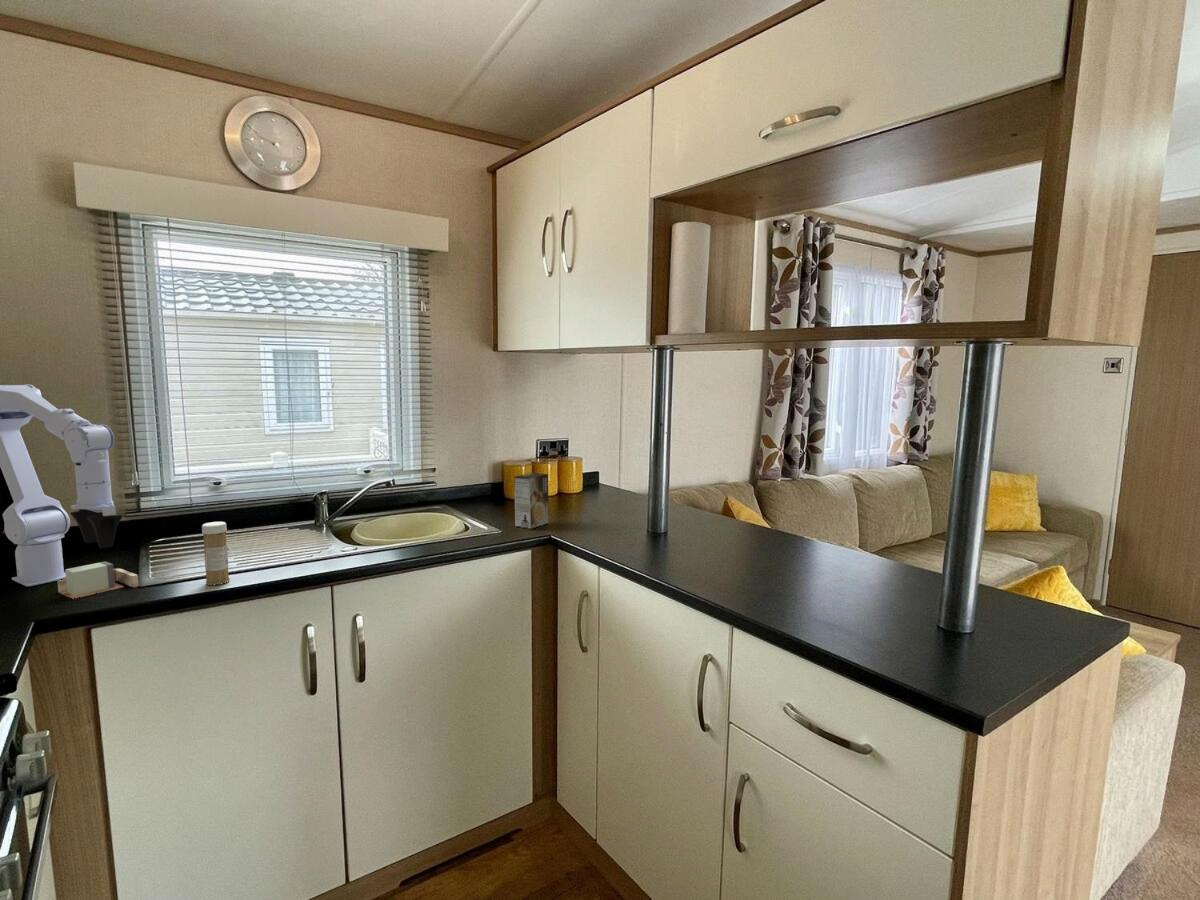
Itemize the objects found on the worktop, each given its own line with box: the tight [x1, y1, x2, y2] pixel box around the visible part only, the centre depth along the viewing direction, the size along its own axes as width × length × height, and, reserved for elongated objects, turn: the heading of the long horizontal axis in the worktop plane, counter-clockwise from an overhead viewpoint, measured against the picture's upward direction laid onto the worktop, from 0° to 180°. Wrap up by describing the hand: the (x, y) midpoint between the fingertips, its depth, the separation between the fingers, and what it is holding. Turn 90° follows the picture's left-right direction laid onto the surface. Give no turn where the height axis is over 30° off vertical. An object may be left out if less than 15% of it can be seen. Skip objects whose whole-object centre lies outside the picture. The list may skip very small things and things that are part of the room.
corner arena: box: [56, 567, 140, 600], centre depth 135 cm, size 10×11×2 cm
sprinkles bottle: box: [201, 521, 230, 586], centre depth 139 cm, size 5×5×14 cm
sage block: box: [64, 560, 116, 596], centre depth 134 cm, size 4×7×5 cm, turn 147°
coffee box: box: [513, 472, 550, 528], centre depth 194 cm, size 9×6×16 cm
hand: (98, 544), depth 136 cm, fingers open, 7 cm apart
